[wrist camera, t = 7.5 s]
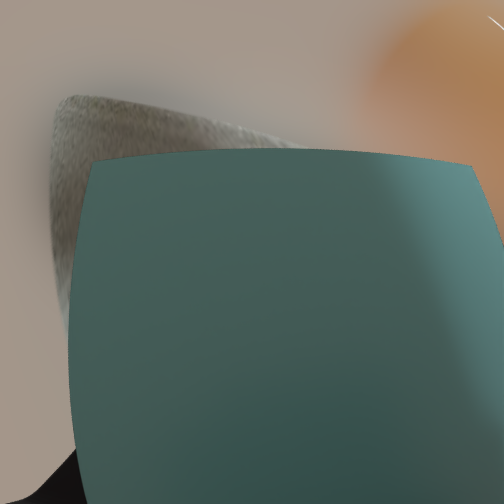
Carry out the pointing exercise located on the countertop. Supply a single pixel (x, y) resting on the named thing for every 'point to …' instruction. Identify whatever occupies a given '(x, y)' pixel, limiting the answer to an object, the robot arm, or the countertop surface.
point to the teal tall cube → (287, 330)
